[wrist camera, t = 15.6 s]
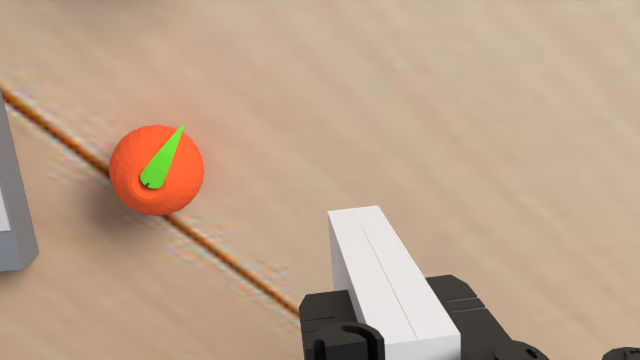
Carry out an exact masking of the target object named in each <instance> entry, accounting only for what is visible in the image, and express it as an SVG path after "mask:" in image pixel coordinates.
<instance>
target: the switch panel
mask: <svg viewBox="0 0 640 360" xmlns="http://www.w3.org/2000/svg"><path fill="white" fill-rule="evenodd" d="M38 254H39V251H38V247H37V242H36V238H35V234H34V230H33V225H32V221H31V217H30V213H29V208H28V204H27V200H26V195H25V191H24V187H23V183H22V178H21V174H20V170H19V166H18V161H17V157H16V153H15V149H14V144H13V140H12V136H11V131H10V127H9V123H8V119H7V114H6V110H5V106H4V102H3V97H2V93H1V89H0V271H11V270H23V269H24V268H25V267H26V266H27V265H28V264H29V263H30V262H31V261H32V260H33V259H34V258H35V257H36V256H37V255H38Z"/></svg>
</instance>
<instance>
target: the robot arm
mask: <svg viewBox="0 0 640 360" xmlns="http://www.w3.org/2000/svg"><path fill="white" fill-rule="evenodd" d="M328 222H329V234H330V246H331V258H332V270H333V281H334V291H332V292H324V293H316V294H308V295H306V296H305V298H304V299H303V301H302V303H301V305H300V306H299V314H300V323H301V332H302V341H303V351H304V360H549V359H548V357H547V356H545V355H544V354H543V353H542V352H541V351H539V350H538V349H537V348H535V347H533V346H530V345H528V344H526V343H524V342H519V341H514V340H512V339H511V338H510V337H509V336H508V334H507V333H506V332H505V331H504V329H503V328H502V327H501V326H500V324H499V323H498V322H497V321H496V319H495V318H494V317H493V316H492V314H491V313H490V312H489V310H488V309H487V308H486V309H485V305H484V304H483V303H482V302H481V300H480V299H479V298H477V295H476V294H475V293H474V292H473V290H472V289H471V288H470V287H469V285H468V284H467V283H465V282H463V281H461V280H460V279H458V278H456V277H454V276H452V275H444V276H436V277H428V278H424V276H423V275H422V273H421V272H420V270H419V269H418V267H417V265H416V264H415V262H414V261H413V259H412V258H411V256H410V255H409V253H408V251H407V250H406V248H405V247H404V245H403V244H402V242H401V241H400V239H399V237H398V236H397V234H396V233H395V231H394V230H393V228H392V227H391V225H390V223H389V222H388V220H387V219H386V217H385V216H384V214H383V212H382V211H381V209H380V208H379V206H369V207H361V208H352V209H343V210H335V211H328ZM602 360H640V348H632V347H623V348H618V349H612V350H611V351H609V352H607V353H606V354H604V355H603V358H602Z"/></svg>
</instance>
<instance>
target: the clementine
mask: <svg viewBox="0 0 640 360" xmlns="http://www.w3.org/2000/svg"><path fill="white" fill-rule="evenodd" d="M184 124H185V123H184ZM184 124H183V125H182V126H181V127H180V128H179V129H178V130H176V129H174V128H171V127H168V126H161V125H154V126H146V127H142V128H140V129H137V130H135V131H132V132H131V133H129V134H128V135H127V136H125V137H124V138H123V139H122V140H121V141H120V142H119V144H118V145H117V146H116V148H115V150H114V152H113V154H112V157H111V160H110V166H109V175H110V180H111V184H112V186H113V188H114V190H115V192H116V194H117V195H118V197H119V198H120V199H121V200H122V201H123V202H124V203H125V204H126V205H127V206H129V207H130V208H132V209H133V210H135V211H138V212H141V213H144V214H150V215H165V214H171V213H173V212H176V211H179V210H181V209H182V208H183V207H185V206H186V205H187V204H189V203H190V202H191V201H192V199H193V198H194V197H195V196H196V194H197V193H198V192H199V189H200V187H201V185H202V182H203V174H204V167H203V161H202V156H201V154H200V152H199V150H198V148H197V146H196V145H195V144H194V142H193V141H192V140H191V139H190V138H189V137H188V136H186V135H185V134H184V133H182V130H183V127H184Z"/></svg>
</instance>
